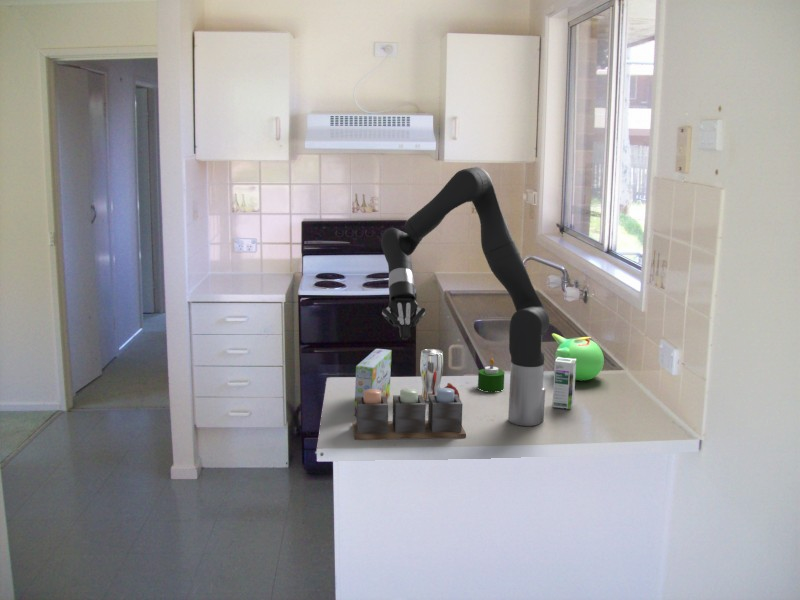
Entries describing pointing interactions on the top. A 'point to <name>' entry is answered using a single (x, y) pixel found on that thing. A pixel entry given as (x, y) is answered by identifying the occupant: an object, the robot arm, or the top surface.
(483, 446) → the top surface
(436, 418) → the button board
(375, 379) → the snack box
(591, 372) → the toy bird
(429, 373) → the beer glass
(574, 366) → the syrup box
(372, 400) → the terracotta button
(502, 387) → the candle
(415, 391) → the sage button
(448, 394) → the pale blue rounded piece
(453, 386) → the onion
